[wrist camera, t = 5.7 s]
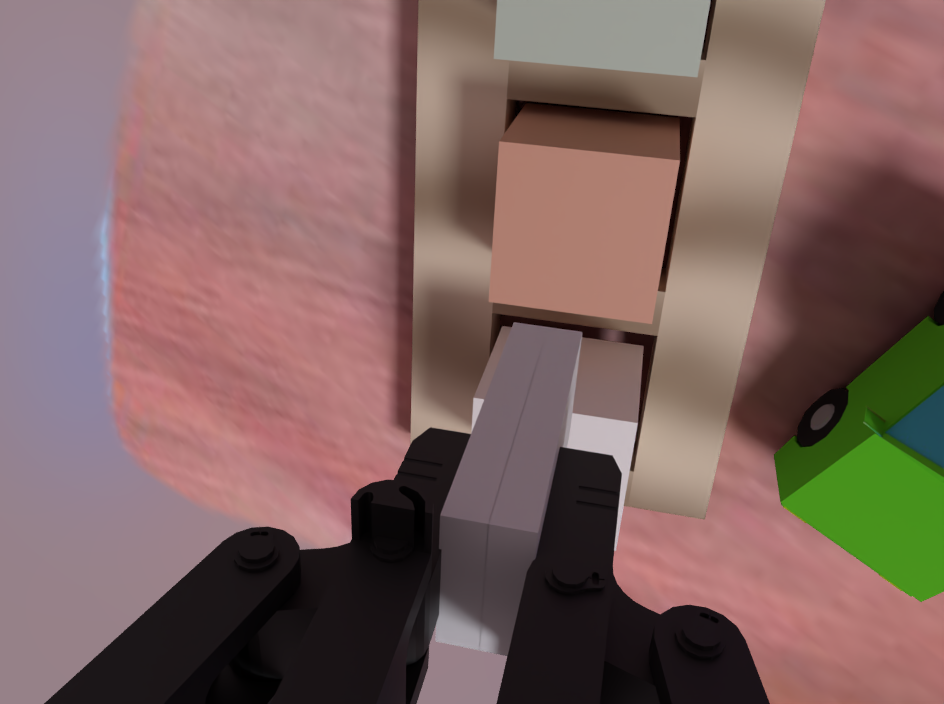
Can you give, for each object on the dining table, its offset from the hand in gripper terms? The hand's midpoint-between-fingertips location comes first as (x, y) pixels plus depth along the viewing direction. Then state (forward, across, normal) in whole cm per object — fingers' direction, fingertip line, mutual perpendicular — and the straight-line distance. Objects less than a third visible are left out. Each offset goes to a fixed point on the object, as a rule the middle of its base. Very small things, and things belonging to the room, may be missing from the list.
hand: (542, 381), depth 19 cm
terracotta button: (+18, 0, -1) cm, 18 cm away
